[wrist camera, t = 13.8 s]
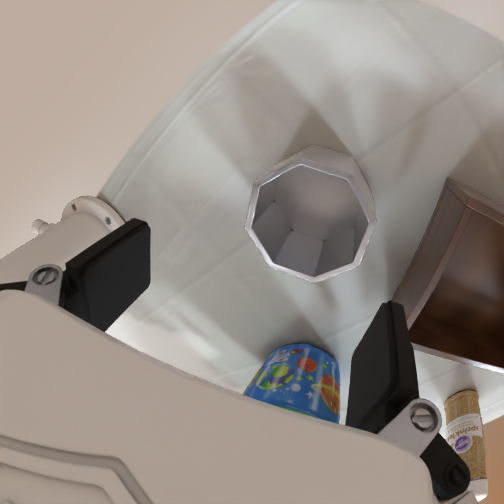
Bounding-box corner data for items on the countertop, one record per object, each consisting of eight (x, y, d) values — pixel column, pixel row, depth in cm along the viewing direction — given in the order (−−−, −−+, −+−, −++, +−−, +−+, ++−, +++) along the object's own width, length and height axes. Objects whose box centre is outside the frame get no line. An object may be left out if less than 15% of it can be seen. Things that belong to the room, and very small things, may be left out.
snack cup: (256, 397, 34) (226, 465, 25) (217, 336, 30) (171, 410, 22) (385, 388, 26) (377, 473, 18) (369, 314, 23) (362, 417, 15)
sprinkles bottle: (467, 383, 23) (478, 493, 12) (483, 396, 23) (493, 496, 12) (436, 403, 25) (435, 508, 14) (454, 414, 25) (455, 510, 14)
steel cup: (264, 222, 23) (238, 256, 18) (284, 135, 19) (261, 145, 14) (349, 252, 21) (345, 294, 17) (381, 166, 18) (390, 187, 13)
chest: (389, 304, 22) (391, 343, 18) (447, 176, 16) (469, 196, 12) (509, 344, 19) (521, 377, 15) (568, 248, 13) (592, 275, 10)
